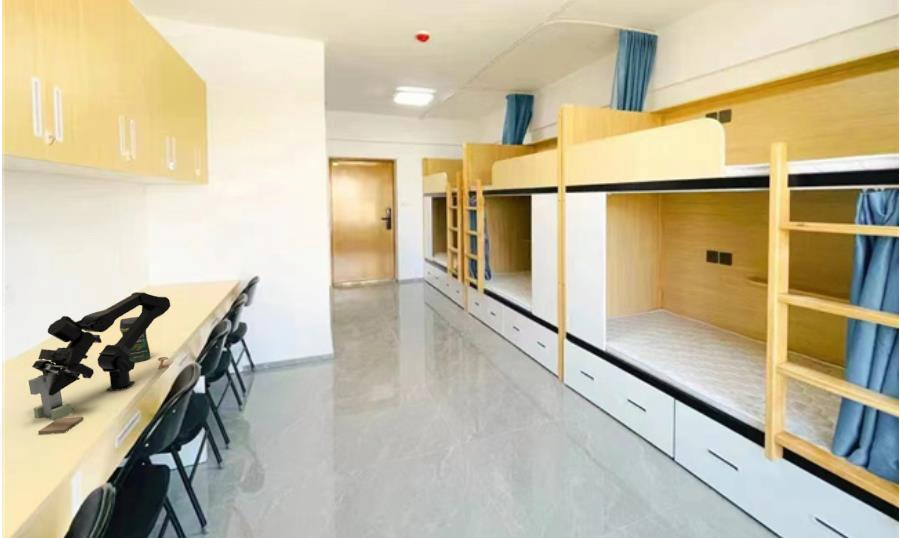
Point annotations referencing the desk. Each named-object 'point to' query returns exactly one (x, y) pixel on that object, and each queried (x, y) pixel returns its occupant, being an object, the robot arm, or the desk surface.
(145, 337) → the coffee jar
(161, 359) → the key
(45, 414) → the stepped metal bracket
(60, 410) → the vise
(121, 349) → the robot arm
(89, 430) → the desk surface
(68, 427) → the walnut board
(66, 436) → the desk surface
